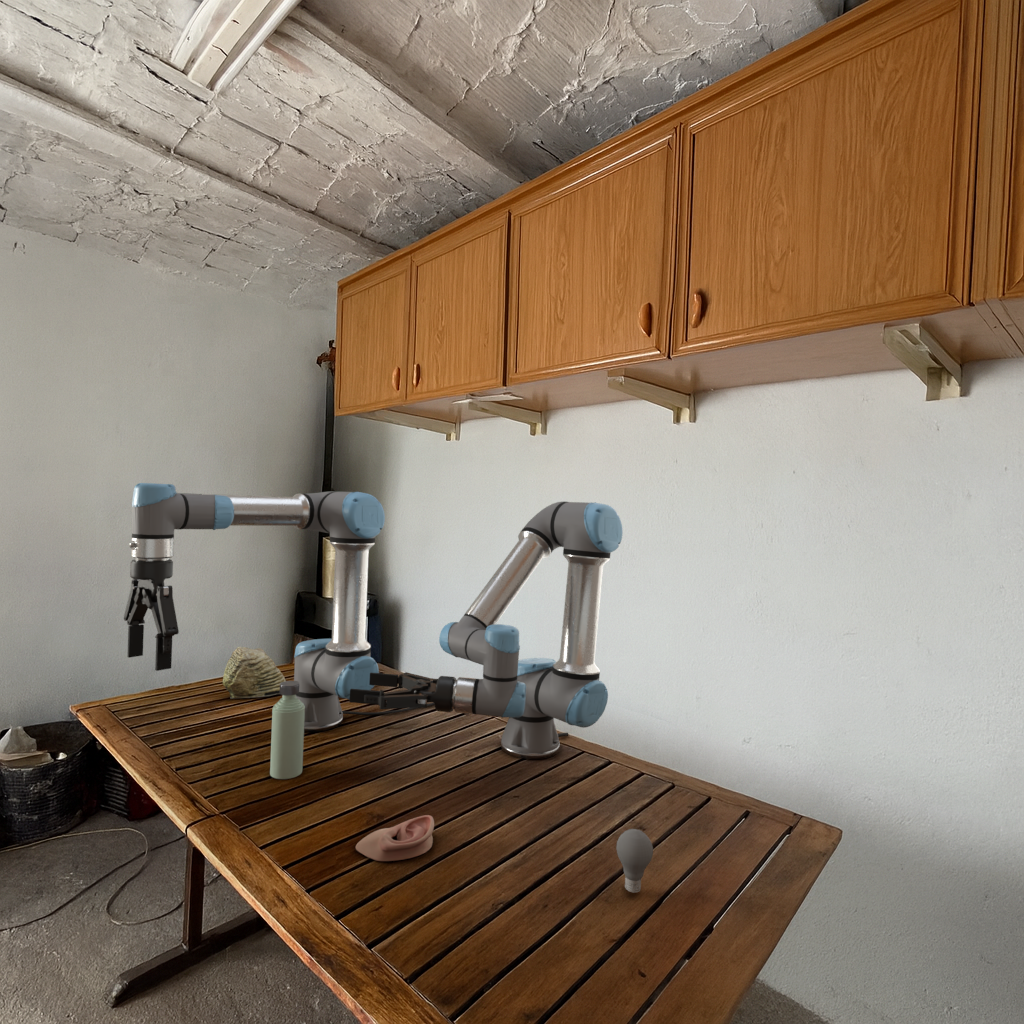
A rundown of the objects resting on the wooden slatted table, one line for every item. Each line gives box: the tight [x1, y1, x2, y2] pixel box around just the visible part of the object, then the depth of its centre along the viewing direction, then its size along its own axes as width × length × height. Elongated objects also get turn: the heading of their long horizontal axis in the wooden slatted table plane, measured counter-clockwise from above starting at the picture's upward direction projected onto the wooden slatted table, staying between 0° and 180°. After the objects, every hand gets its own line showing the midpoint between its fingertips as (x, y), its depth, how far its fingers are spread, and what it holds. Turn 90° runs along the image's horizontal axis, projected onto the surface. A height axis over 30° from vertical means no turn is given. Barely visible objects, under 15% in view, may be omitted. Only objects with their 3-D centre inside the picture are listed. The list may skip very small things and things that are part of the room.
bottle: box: [269, 695, 305, 780], centre depth 144 cm, size 7×7×20 cm
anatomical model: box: [355, 814, 435, 862], centre depth 116 cm, size 13×4×12 cm
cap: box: [279, 680, 299, 696], centre depth 144 cm, size 4×4×2 cm
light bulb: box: [615, 828, 654, 894], centre depth 106 cm, size 6×6×10 cm
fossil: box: [222, 646, 287, 699], centre depth 198 cm, size 9×18×15 cm, turn 132°
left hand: (148, 662), depth 129 cm, fingers open, 13 cm apart
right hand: (360, 686), depth 140 cm, fingers open, 13 cm apart
